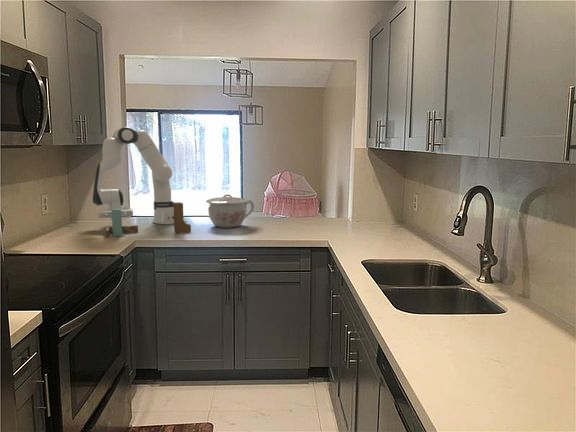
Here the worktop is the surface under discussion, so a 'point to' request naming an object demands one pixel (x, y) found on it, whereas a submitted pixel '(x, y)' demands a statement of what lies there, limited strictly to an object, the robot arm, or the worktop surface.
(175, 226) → the wooden block
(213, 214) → the chamber pot
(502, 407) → the worktop surface
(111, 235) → the pad
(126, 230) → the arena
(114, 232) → the painted block
